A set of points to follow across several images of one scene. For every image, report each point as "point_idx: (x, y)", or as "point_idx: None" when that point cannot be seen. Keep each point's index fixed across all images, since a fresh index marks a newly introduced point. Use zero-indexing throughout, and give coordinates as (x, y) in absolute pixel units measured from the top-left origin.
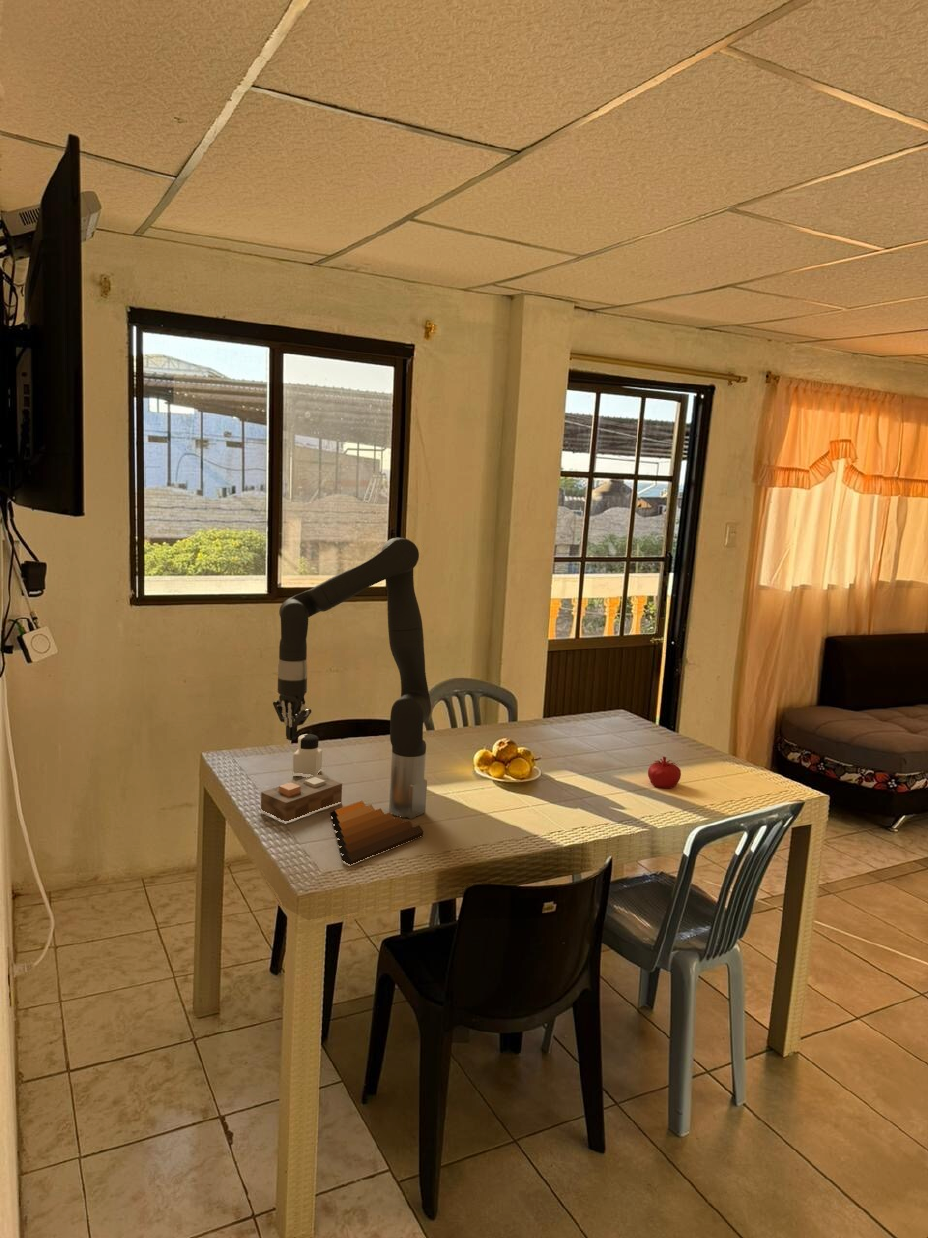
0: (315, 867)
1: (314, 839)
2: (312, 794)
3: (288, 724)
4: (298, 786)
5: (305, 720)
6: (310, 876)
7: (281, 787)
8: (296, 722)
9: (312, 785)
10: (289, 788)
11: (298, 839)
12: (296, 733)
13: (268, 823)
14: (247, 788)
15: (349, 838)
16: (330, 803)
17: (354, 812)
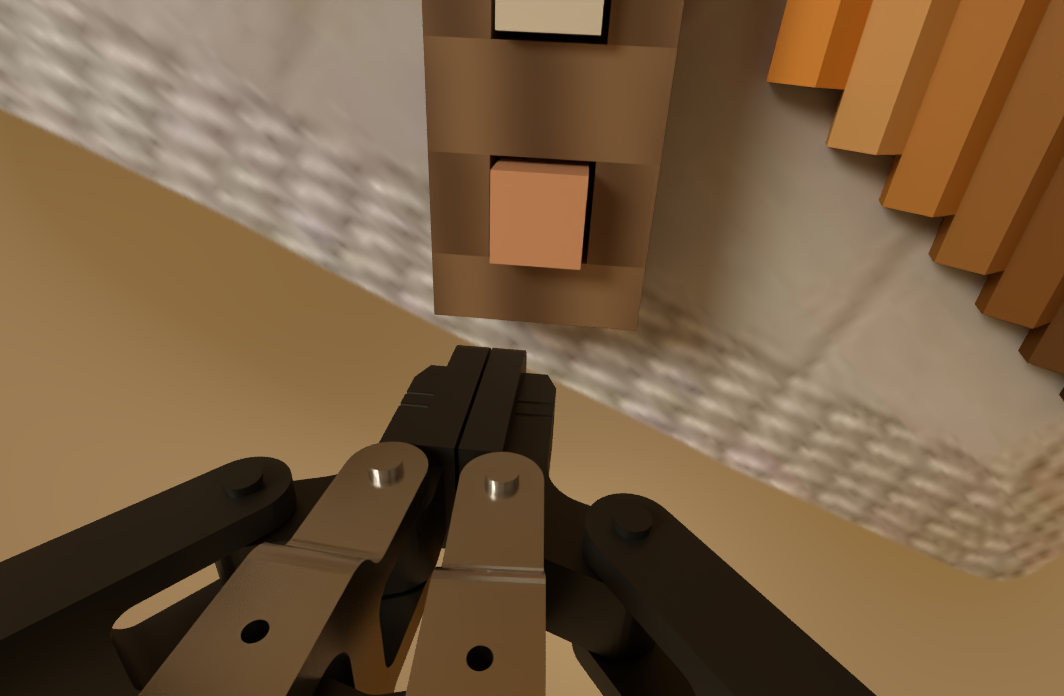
0: (968, 467)
1: (832, 311)
2: (663, 132)
3: (431, 559)
4: (581, 189)
5: (755, 592)
6: (984, 515)
7: (511, 263)
8: (657, 689)
9: (579, 34)
10: (562, 250)
11: (771, 350)
12: (551, 419)
13: None
14: (148, 95)
15: (1059, 294)
16: None
17: (938, 6)
